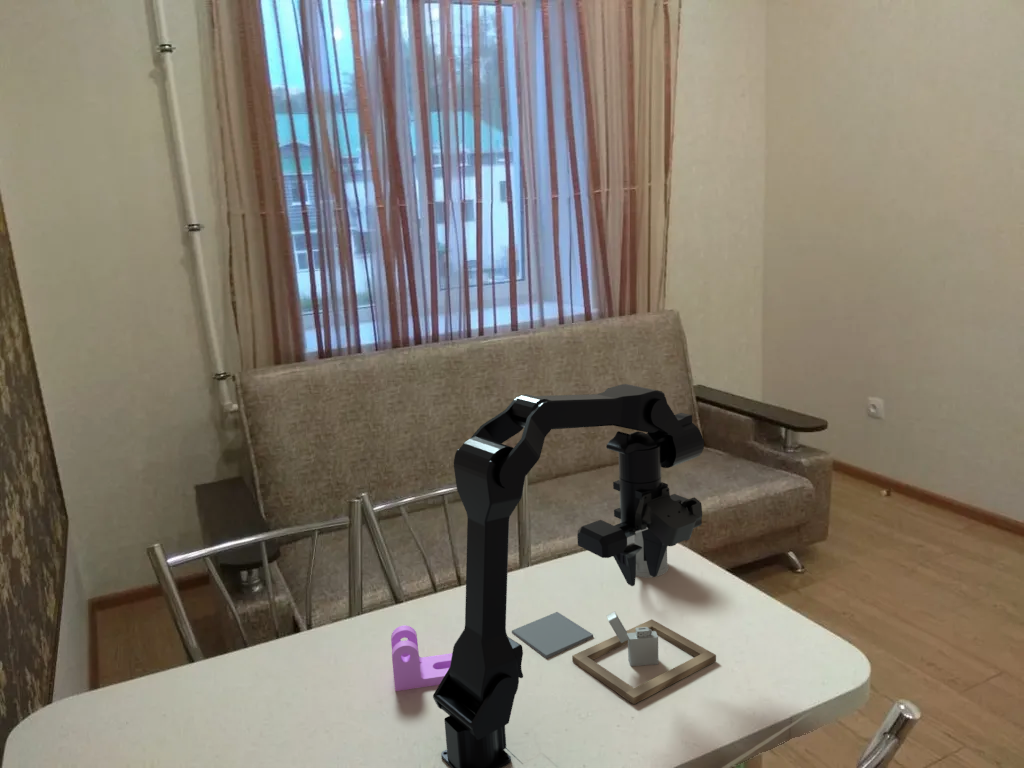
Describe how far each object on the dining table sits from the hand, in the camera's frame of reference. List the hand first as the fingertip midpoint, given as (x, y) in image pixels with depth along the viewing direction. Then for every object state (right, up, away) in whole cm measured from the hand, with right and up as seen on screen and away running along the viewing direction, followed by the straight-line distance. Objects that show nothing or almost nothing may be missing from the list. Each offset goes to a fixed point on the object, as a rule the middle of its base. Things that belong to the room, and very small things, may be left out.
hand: (642, 580), depth 113 cm
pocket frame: (+1, -12, +3) cm, 13 cm away
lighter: (-1, -13, +3) cm, 13 cm away
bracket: (-29, -14, +3) cm, 32 cm away
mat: (-12, -11, +11) cm, 20 cm away
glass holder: (+4, -6, +29) cm, 30 cm away
